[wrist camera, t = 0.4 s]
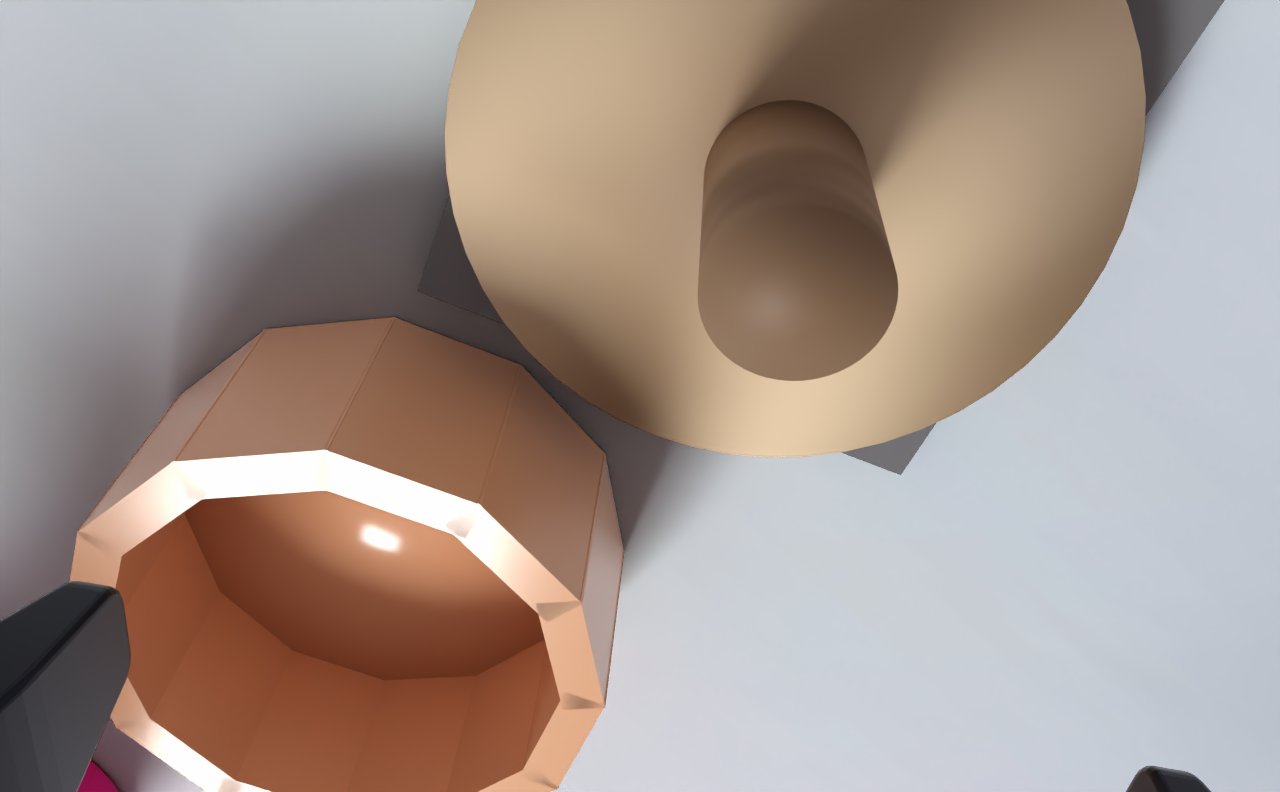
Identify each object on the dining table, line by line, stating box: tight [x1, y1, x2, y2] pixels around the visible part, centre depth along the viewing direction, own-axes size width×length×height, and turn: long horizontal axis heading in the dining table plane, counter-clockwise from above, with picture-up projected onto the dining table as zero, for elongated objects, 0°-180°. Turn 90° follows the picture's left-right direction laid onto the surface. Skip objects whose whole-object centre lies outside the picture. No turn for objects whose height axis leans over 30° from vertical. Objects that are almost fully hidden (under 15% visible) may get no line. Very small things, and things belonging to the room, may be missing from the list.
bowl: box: [70, 317, 624, 792], centre depth 23 cm, size 10×10×4 cm
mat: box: [418, 0, 1224, 475], centre depth 19 cm, size 10×10×1 cm
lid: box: [445, 0, 1146, 457], centre depth 17 cm, size 11×11×5 cm
